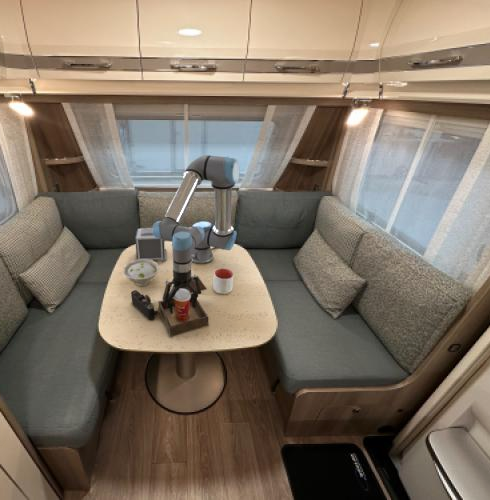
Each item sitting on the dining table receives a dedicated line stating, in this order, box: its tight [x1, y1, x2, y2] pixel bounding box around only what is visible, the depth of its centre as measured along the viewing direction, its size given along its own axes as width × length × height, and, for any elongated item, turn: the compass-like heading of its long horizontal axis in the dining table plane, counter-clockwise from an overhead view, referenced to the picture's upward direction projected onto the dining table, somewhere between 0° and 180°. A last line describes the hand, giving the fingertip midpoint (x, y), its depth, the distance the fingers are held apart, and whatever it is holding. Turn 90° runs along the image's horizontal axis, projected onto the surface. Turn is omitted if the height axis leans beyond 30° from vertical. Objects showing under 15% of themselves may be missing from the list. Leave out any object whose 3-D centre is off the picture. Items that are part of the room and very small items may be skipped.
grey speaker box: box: [134, 227, 167, 262], centre depth 165 cm, size 18×13×18 cm
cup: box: [212, 267, 235, 295], centre depth 138 cm, size 10×10×10 cm
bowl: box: [122, 259, 160, 287], centre depth 143 cm, size 19×19×10 cm
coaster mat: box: [181, 275, 207, 294], centre depth 144 cm, size 12×12×1 cm
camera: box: [130, 289, 159, 321], centre depth 125 cm, size 16×7×8 cm, turn 42°
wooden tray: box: [157, 292, 209, 337], centre depth 121 cm, size 18×18×5 cm
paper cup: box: [174, 288, 191, 322], centre depth 119 cm, size 8×8×14 cm
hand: (182, 309), depth 120 cm, fingers open, 10 cm apart
